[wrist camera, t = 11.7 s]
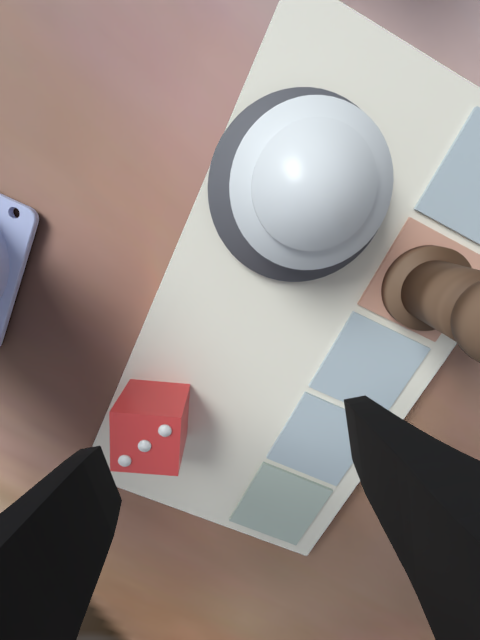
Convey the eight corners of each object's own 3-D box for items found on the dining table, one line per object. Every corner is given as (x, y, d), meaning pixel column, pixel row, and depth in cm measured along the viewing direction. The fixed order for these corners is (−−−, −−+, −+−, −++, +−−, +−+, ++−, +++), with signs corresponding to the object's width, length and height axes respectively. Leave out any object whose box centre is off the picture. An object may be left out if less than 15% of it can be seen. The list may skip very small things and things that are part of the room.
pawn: (384, 332, 18) (475, 408, 11) (378, 253, 17) (477, 284, 10) (463, 318, 18) (607, 386, 11) (464, 237, 17) (625, 257, 10)
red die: (129, 430, 20) (109, 472, 17) (130, 378, 19) (108, 413, 16) (187, 435, 20) (177, 477, 17) (190, 384, 19) (181, 419, 16)
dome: (207, 225, 16) (201, 228, 13) (269, 84, 14) (278, 52, 11) (325, 283, 16) (344, 298, 14) (396, 155, 15) (435, 143, 12)
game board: (87, 462, 22) (76, 481, 20) (288, -14, 15) (294, -39, 13) (304, 542, 24) (308, 565, 22) (569, 158, 17) (602, 153, 15)
